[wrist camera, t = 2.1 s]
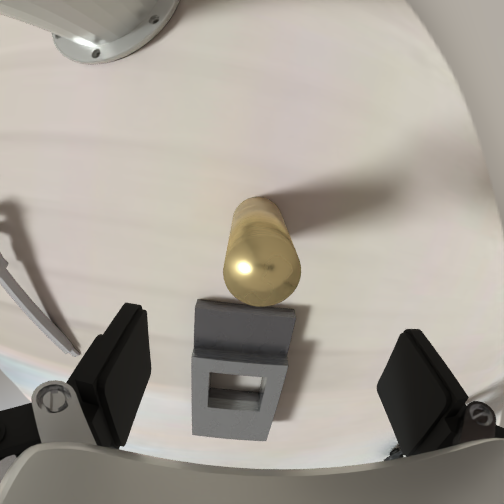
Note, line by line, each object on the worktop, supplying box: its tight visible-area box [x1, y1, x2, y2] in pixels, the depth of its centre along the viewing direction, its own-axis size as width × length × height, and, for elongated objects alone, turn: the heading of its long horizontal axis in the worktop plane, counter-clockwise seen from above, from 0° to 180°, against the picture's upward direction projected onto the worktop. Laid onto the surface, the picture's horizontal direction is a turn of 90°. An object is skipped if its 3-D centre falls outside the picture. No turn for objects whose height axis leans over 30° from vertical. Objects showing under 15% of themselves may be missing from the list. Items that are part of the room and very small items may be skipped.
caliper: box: [0, 253, 80, 357], centre depth 24 cm, size 20×1×6 cm, turn 26°
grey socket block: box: [192, 300, 296, 441], centre depth 30 cm, size 18×9×3 cm, turn 173°
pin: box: [223, 197, 301, 307], centre depth 20 cm, size 4×4×10 cm
